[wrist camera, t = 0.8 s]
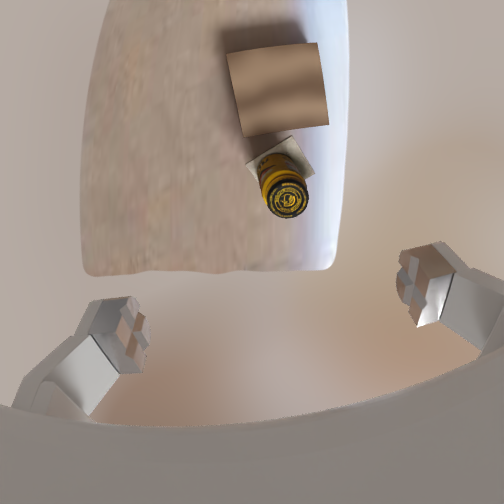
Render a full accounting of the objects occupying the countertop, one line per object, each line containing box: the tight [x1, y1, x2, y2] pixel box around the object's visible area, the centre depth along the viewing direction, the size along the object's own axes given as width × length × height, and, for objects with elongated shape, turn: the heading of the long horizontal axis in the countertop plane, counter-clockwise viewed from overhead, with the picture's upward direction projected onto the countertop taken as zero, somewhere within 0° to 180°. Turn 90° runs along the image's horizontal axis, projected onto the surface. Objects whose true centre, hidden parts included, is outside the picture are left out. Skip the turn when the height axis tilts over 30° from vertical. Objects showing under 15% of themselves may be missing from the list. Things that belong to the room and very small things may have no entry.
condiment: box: [246, 136, 315, 219], centre depth 41 cm, size 7×8×12 cm
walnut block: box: [226, 43, 329, 138], centre depth 37 cm, size 12×12×5 cm
